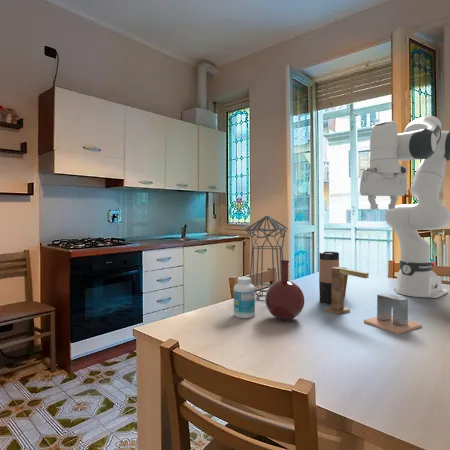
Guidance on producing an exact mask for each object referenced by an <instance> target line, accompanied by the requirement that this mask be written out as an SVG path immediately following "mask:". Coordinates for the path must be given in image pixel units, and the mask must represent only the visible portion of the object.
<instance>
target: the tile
mask: <svg viewBox="0 0 450 450" xmlns="http://www.w3.org/2000/svg"><path fill="white" fill-rule="evenodd" d="M363 323H365V324H367V325H370V326H373V327H376V328H379V329H382V330H385V331H386V332H387V331H388V332H390V333H394V334H397V335H400V334H402V333H406V332H409V331H412V330H416V329H420V328H422V327H423V324H422V323H418V322H415V321H411V320H409V319H408V325H405V326H401V327H399V326H396V325H393V315H392V319H391V320H388V321H384V322H383V321H380V320H377V316H373V317H371V318H367V319H364V320H363Z"/></svg>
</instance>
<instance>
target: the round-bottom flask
mask: <svg viewBox="0 0 450 450" xmlns="http://www.w3.org/2000/svg"><path fill="white" fill-rule="evenodd" d="M280 263H281V276H280V281H276V282H275V281H274V282H275V283H274V284H273V283H272V285H271V286H269V287H268V288H267V292H265V295H266V296H264V297H265V298H264V300H265V301H264V302H265V306H266V309H267V310H268V312H269V313H270V314H271V315H272V316H273V317H275V318H276V319H279V320H283V321H289V320H294V319H296V318H297V317H298V316H299V315H300V314H301V313H302V311H303V309H304V306H305V295H304V293H303V290H302V289H301V288H300V287H299V285H298V284H296V283H295V282H293V281H290V280H289V264H290V260H285V259H283V260H282V259H281V261H280V260H279V264H280Z"/></svg>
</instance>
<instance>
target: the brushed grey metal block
mask: <svg viewBox="0 0 450 450" xmlns="http://www.w3.org/2000/svg"><path fill="white" fill-rule="evenodd" d="M376 296H377V297H376V303H377V305H376V310H377V311H376V317H377V320H380V321H383V322H384V321H388V320H391V319H392V316H393V325H396V326H399V327H401V326H405V325H408V320H409V298H407V297H402V296H400V295H395V294H391V293H387V292H384V293H380V294H377V295H376Z"/></svg>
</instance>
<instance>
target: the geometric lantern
mask: <svg viewBox="0 0 450 450" xmlns="http://www.w3.org/2000/svg"><path fill="white" fill-rule="evenodd" d="M263 224H264V226H263ZM270 224H271V226H272V228H273V229H271V228H270ZM262 226H263V228H262ZM266 226H267V228H266ZM244 230H245V232H247V234H248V235H249V237H250V242H251V251H250V252H251V253H250V255H251V256H250V271H249V277H250V278H251V282H250V283H251V284H253V285H254V287H257V288H258V289H256V288H255V296H256V301H260V302H261V301H262V302H265V299H260V297H266V294H263V293H267V290H268V289H267V290H266V289H263V286H269V287H270V286H271V285H272V284H274V283H275V265H274V264H275V263H274V250H275V253H276V254H275V255H276V266H277V280H278V281H281V263H280V261H282V260H284V251H283V250H284V249H283V248H284V244H285V243H284V242H285V237H286V233H287V231H288V230H289V228H288V227H287V226H286V225H284V224H282V223H281V222H279V221H277V220H276V219H274V218H273V217H272V216H270V215H264V217H262V218H259V220H257V221H256V222H254V223H252V224H251V225H249V226H248V227H246V228H245V229H244ZM255 231H256V233H257V234H255ZM277 231H278V232H277ZM259 232H262V233H263V234H264V236H260V235H259ZM266 232H268V233H266ZM273 233H275V234H274V235H272V234H273ZM279 234H280V236H279V237H278V240H277V239H276V236H278V235H279ZM255 237H256V238H255ZM269 237H272V238H274V240H275V241H276V244H275V245H272V243H271V242H270V240H269ZM264 238H265V239H264ZM281 238H282V244H281V245H280V244H279V242H280V239H281ZM258 239H264V242H263V243H262V245H259V244H258V242H257V240H258ZM253 241H254V244H253ZM267 242H268V244H269V245H265V244H266V243H267ZM255 245H256V246H255ZM255 249H257V254H256V255H257V257H256V277H255ZM260 250H261V259H260V260H261V261H260V263H261V268H260V270H261V271H260V276H261V277H260V283H258V279H259V278H258V277H259V276H258V275H259V255H260V254H259V251H260ZM264 250H271V260H272V261H271V262H272V263H271V264H272V266H271V267H272V282H273V283H272V284H271V283H270V284H269V283H268V284H267V283H263V272H264V271H263V267H264V266H263V262H264V261H263V259H264V257H263V256H264V255H263V254H264ZM278 250H279V252H278ZM279 268H280V269H279ZM254 278H255V279H254ZM254 282H255V283H254ZM259 286H261V289H260V287H259Z"/></svg>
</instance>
